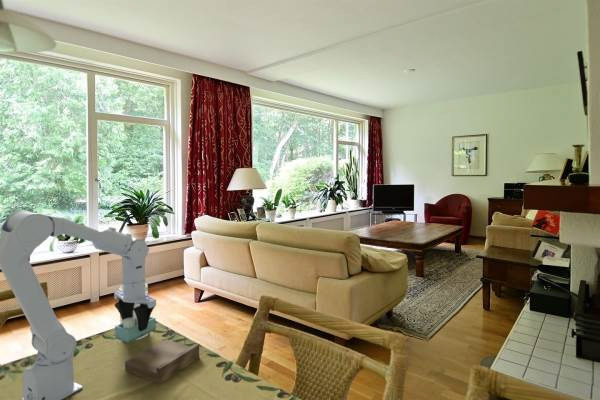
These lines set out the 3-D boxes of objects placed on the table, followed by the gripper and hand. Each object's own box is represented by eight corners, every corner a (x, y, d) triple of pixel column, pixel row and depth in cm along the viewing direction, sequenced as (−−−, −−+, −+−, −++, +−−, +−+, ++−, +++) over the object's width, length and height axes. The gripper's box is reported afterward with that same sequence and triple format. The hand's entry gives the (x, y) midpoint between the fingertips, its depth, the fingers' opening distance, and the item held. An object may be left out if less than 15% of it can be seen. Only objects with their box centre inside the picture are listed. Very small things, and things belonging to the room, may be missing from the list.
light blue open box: (128, 343, 96) (128, 325, 95) (115, 338, 98) (114, 320, 97) (155, 329, 104) (155, 312, 103) (142, 325, 106) (142, 309, 106)
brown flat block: (160, 383, 89) (159, 368, 89) (125, 370, 95) (124, 355, 95) (199, 357, 102) (199, 344, 101) (166, 347, 108) (166, 334, 107)
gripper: (164, 280, 100) (165, 327, 101) (128, 273, 106) (130, 317, 107) (143, 287, 93) (144, 337, 95) (106, 279, 100) (108, 326, 101)
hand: (135, 327), depth 100 cm, fingers closed on light blue open box, 5 cm apart
